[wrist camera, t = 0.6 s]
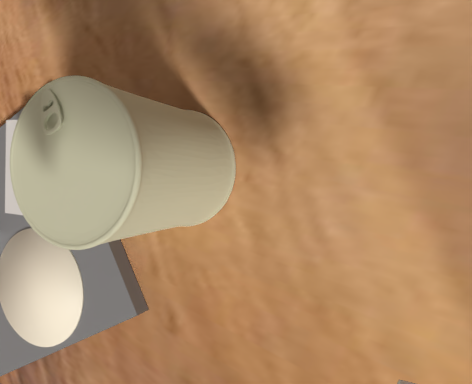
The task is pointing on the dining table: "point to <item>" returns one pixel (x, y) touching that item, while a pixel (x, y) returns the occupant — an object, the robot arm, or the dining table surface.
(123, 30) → the dining table surface
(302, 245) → the dining table surface
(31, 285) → the coupling stand
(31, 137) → the can
